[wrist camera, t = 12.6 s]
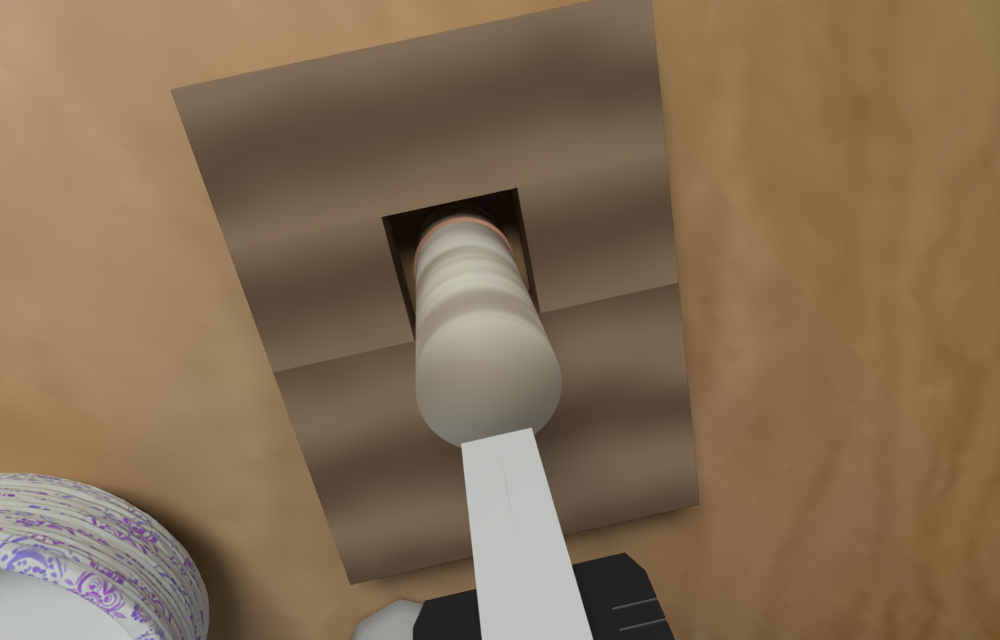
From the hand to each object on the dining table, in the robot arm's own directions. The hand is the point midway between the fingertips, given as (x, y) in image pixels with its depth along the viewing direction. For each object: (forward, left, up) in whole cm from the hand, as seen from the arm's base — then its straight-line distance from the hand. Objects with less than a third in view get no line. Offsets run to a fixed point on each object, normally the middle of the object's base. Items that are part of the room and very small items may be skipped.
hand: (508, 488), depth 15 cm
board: (-3, 0, -18) cm, 19 cm away
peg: (0, 0, -18) cm, 18 cm away
